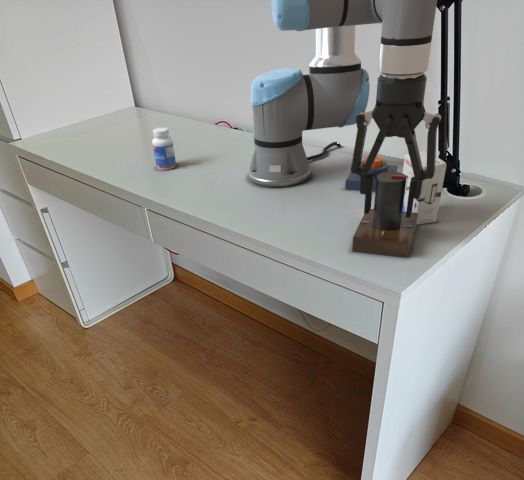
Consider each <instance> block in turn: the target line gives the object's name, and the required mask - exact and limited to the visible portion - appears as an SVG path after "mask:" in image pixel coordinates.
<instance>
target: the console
mask: <svg viewBox="0 0 524 480" xmlns="http://www.w3.org/2000/svg"><path fill="white" fill-rule="evenodd" d="M373 213H374V208H371V209H370V211H369V213H368V214H365V213H364V212H363V215H362V217H361V220H360V222H359V224H358V226H357V228H356V230H355V232H354V233H353V236H352V246H351V248H352V249H351V251H352V252H354V253H363V254H373V255H379V256H389V257H395V258H396V257H397V258H406V259H407V258H408V256H409V253H410V249H411V247H412V246H411V245H412V243H413V239H414V235H415V231H416V229H417V225H416V223H417V216H418V213H413V212H412V213H411V216H410V218H407V217H406V212H402V219H401V226H400V227H399V228H397V229H394V230H382V229H378V228H376V227H374V226H373Z"/></svg>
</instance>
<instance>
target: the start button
mask: <svg viewBox="0 0 524 480" xmlns="http://www.w3.org/2000/svg"><path fill="white" fill-rule="evenodd" d="M367 158H368V156H366V157H364V161H365V163H366V160H367ZM382 161H383V158H382V157H381V156H378V155H377V156H376V158H375V161H374V163H373V165H372V167H371V168H380V167H382ZM365 163H364V165H365Z"/></svg>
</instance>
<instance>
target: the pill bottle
mask: <svg viewBox="0 0 524 480" xmlns="http://www.w3.org/2000/svg"><path fill="white" fill-rule="evenodd" d="M152 135H153V139H152V140H151V144H152V151H153V155H154V160H155V161H154V162H155V166H156V168H157V169H158V170H161V171H167V170H171V169H174V168H176V166H177V161H176V154H175V148H174V142H173V138H172V137H171V136H169V135H170V132H169V128H168V127H156V128H154V129H152Z"/></svg>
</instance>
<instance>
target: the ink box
mask: <svg viewBox="0 0 524 480" xmlns="http://www.w3.org/2000/svg"><path fill="white" fill-rule="evenodd" d="M419 154H420V158H421V162H422V167H423V170H426V169H427V150H422V151H419ZM402 167H403V168H402V174H405V175H406V176H407V179H406V187H405V195H404V203H403V211H402V212H406V211H407V203H408V196H409V188H410V181H411V179H412V177H414V173H413V169H412V164H411V160H410V156H409V153H405V154H404V160H403V166H402ZM446 170H447V162H445V161H444V160H442V159H441V158H439V157H438V156H436V162H435V173H434V176H433V178H431V179H425V180H423V182H422V189H421V194H420V197H419V199H414V200H413V208H412V212H413V213H418V216H417V223H416V226H418V225H423V224H429V223H436V222H437V219H438V213H439V209H440V208H439V207H440V203H441V202H440V201H441V198H442V197H441V196H442V191H443V186H444V181H445V176H446Z"/></svg>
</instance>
